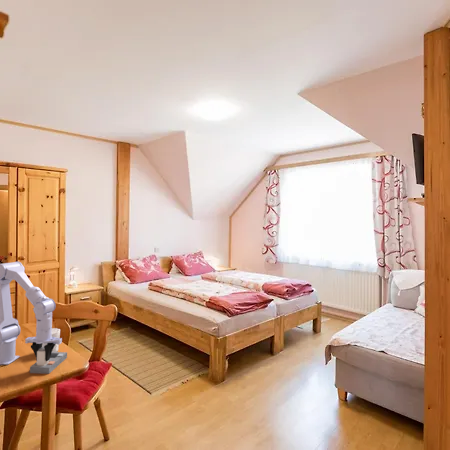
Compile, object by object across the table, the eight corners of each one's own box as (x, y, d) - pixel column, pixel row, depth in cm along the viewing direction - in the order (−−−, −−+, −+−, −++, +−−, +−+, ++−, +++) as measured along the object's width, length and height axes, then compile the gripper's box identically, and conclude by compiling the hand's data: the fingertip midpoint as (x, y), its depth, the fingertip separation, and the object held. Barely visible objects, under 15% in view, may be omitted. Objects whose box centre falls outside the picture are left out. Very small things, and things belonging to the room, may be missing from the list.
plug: (36, 370, 132) (37, 349, 132) (41, 366, 135) (41, 346, 135) (44, 370, 132) (44, 349, 132) (48, 366, 135) (49, 346, 135)
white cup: (42, 349, 153) (43, 328, 153) (60, 347, 156) (61, 327, 156) (39, 355, 146) (40, 334, 146) (58, 353, 149) (58, 333, 149)
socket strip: (29, 372, 130) (30, 365, 130) (49, 357, 145) (49, 350, 145) (49, 373, 130) (49, 366, 130) (67, 357, 145) (67, 351, 145)
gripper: (21, 331, 129) (20, 363, 130) (56, 332, 130) (55, 364, 130) (31, 325, 137) (30, 356, 137) (64, 326, 137) (63, 357, 137)
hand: (43, 359), depth 134 cm, fingers closed on plug, 3 cm apart
